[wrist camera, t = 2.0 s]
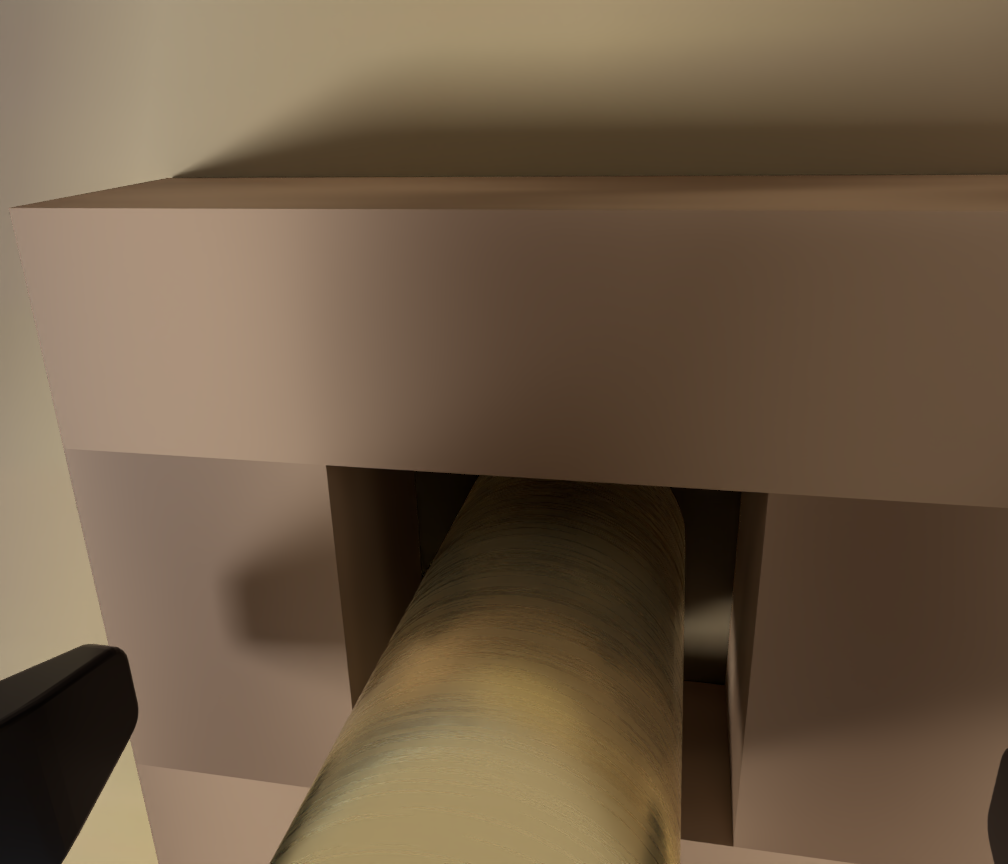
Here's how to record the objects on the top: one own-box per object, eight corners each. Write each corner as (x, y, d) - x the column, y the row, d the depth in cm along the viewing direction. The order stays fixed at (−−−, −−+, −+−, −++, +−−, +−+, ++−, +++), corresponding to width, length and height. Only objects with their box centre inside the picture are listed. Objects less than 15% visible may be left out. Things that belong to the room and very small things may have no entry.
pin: (691, 439, 12) (689, 1287, 3) (678, 640, 13) (655, 1624, 5) (459, 427, 12) (-8, 1123, 4) (468, 619, 13) (121, 1457, 5)
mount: (1069, 174, 10) (1218, 211, 7) (927, 852, 13) (988, 1050, 11) (167, 178, 12) (9, 208, 9) (261, 762, 15) (168, 909, 13)
